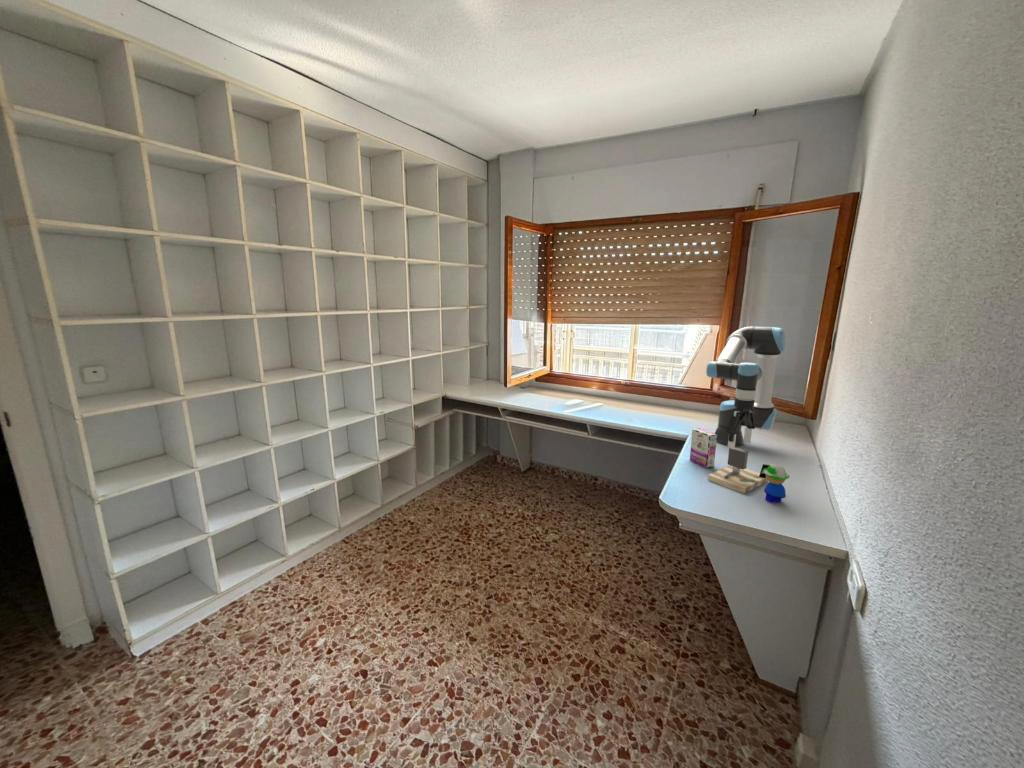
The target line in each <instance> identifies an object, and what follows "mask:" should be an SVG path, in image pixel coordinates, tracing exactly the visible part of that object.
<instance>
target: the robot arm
mask: <svg viewBox="0 0 1024 768" xmlns="http://www.w3.org/2000/svg"><path fill="white" fill-rule="evenodd" d="M745 349H746V350H753V353H754V355H755V356H756V362H755V363H754V362H740V363H736V361H737V359H738V357H739V356H740V354H741V352H742V351H744V350H745ZM785 350H786V333H785V330H784V329H783V328H782V327H774V326H745V327H742V328H738V329H737V330H736V331H734V332H732V333H731V334H729V336H728V337H727V339H726V345H725V346H724V347H723V349H722V351H721V352H720V354H719V356H718V357H717V359H716V360H715V361H709V362H708V363H707V365H706V371H705V372H706V376H707V377H708V378H713V379H721V380H732V381H736V389H734V392H735V394H734V395H735V396H734V397H735V398H734V399H732V400H724V401H722V402H721V403H720V405H719V409H718V422H717V427H716V430H715V432H713V433H714V434H717V443H718V444H719V445H720V444H721V445H723V446H724V445H725V446H727V448H728V449H729V448H731V449H735V447H738V446H742V445H744V443H747V444H751V442H752V441H751V440H752V434H753V433H752V432H753V430H755V429H759V430H767V431H768V430H769V431H770V430H771V428H772V427H773V424H774V422H775V419H776V416H777V413H778V410H777V409H776V408H775V405H774V403H772V397H773V390H774V380H775V374H776V367H777V366H776V365H777V358H778V357H779V356H780V355H781V353H782V352H785ZM742 426H743V427H745V428H744V433H743V431H742ZM717 443H716V444H717Z"/></svg>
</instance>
